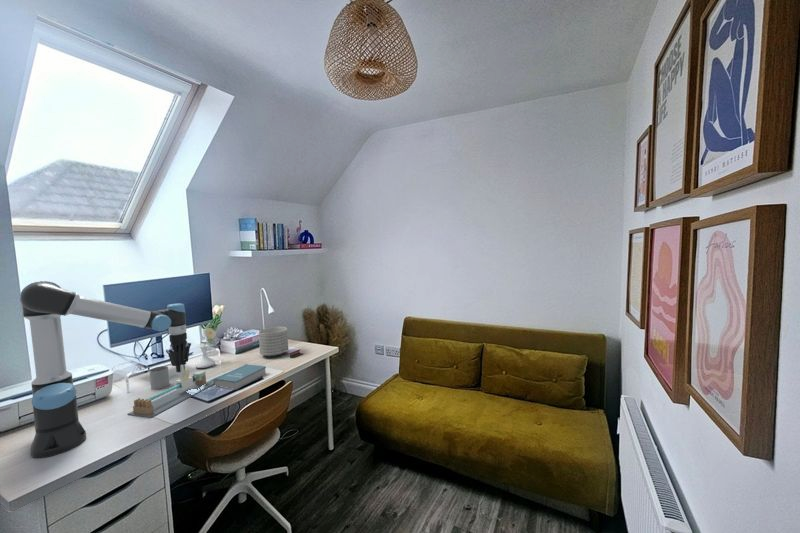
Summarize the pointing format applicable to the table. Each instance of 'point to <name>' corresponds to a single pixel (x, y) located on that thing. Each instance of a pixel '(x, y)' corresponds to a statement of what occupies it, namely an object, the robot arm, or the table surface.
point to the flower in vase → (205, 360)
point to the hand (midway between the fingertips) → (181, 377)
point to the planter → (273, 341)
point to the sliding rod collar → (185, 381)
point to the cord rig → (167, 398)
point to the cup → (159, 377)
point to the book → (240, 376)
